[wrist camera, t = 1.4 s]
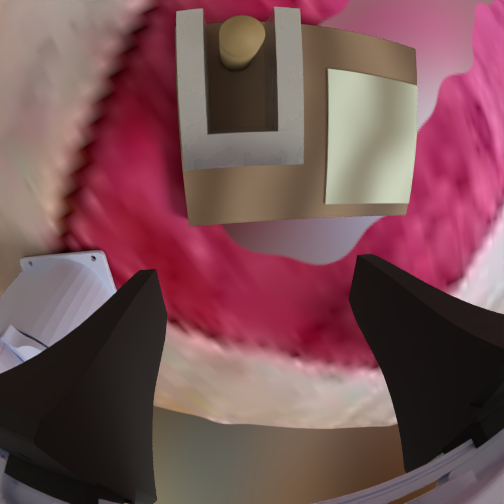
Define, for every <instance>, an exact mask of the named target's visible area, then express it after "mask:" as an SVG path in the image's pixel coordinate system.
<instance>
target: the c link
mask: <svg viewBox="0 0 504 504" xmlns="http://www.w3.org/2000/svg"><path fill="white" fill-rule="evenodd" d="M264 30H265V39H264V41H263V53H264V82H265V117H266V127H242V128H224V129H211V116H210V96H209V72H208V40H207V26H206V21H205V16H204V11H203V8H200V9H191V10H183V11H176V42H177V77H178V98H179V114H180V128H181V141H182V153H183V163H184V171H189V170H200V169H212V168H225V167H240V166H261V165H298V164H304V88H303V55H302V34H301V17H300V9H296V8H285V7H274V8H273V10H272V12H271V14H270V16H269V17H268V19H267V21H266V23H265V25H264Z"/></svg>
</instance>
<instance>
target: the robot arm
mask: <svg viewBox="0 0 504 504" xmlns="http://www.w3.org/2000/svg"><path fill="white" fill-rule="evenodd" d="M92 255H93V256H95V258H96V259H94V258H93V257H92ZM31 262H32V263H31ZM20 265H21V267H22V270H23V271H22V272H21V273H20V274H19V275H18V276H17V277H16V278H15V280H14V281H13V282H12V283H11V284H10V286H9V287H8V288H7V289H6V290H5V292H4V293H3V294H2V295H1V297H0V504H124V503H128V504H153V503H154V502H155V501H157V496H156V489H155V481H154V470H153V454H152V453H153V452H152V418H153V417H152V416H153V400H154V392H155V386H156V381H157V376H158V371H159V366H160V361H161V356H162V351H163V347H164V342H165V335H166V324H167V311H166V308H165V304H164V300H163V296H162V292H161V288H160V284H159V280H158V275H157V271H156V269H151V270H140V271H138V272H137V273H136V274H135V275H134V276H132V277H131V278H130V279H129V280H128V281H127V282H126V283H125V284H124V285H123V286H122V287H121V288H120V289H119V290H118V291H117V290H116V287H115V284H114V281H113V278H112V275H111V272H110V269H109V266H108V262H107V259H106V256H105V253H104V252H103V251H101V250H93V251H82V252H72V253H62V254H52V255H42V256H33V257H23V258H22V259H21V260H20ZM349 302H350V305H351V308H352V311H353V313H354V316H355V319H356V321H357V323H358V325H359V327H360V329H361V331H362V333H363V335H364V337H365V339H366V341H367V343H368V344H369V346H370V348H371V350H372V352H373V354H374V356H375V358H376V360H377V362H378V364H379V366H380V368H381V370H382V373H383V375H384V378H385V381H386V384H387V387H388V390H389V393H390V396H391V399H392V403H393V406H394V410H395V414H396V418H397V422H398V427H399V432H400V437H401V444H402V451H403V460H404V469H405V471H406V474H404V475H402V476H399V477H397V478H394V479H392V480H389V481H387V482H384V483H382V484H379V485H376V486H373V487H370V488H367V489H364V490H361V491H358V492H355V493H352V494H348V495H345V496H341V497H338V498H334V499H330V500H326V501H321V502H317V503H312V504H386V503H389V502H392V501H394V500H396V499H398V498H401V497H403V496H405V495H408V494H410V493H412V492H414V491H416V490H418V489H420V488H422V487H424V486H426V485H428V484H430V483H432V482H434V481H436V480H437V479H439V478H440V479H439V481H438V482H437V486H436V487H435V489H433V490H431V491H429V492H427V493H425V494H423V495H421V496H419V497H417V498H415V499H413V500H411V501H409V502H407V503H405V504H504V314H500V313H497V312H493V311H490V310H487V309H484V308H481V307H478V306H475V305H472V304H470V303H467V302H465V301H462V300H460V299H458V298H456V297H453V296H451V295H449V294H447V293H445V292H443V291H441V290H439V289H437V288H435V287H433V286H431V285H429V284H427V283H425V282H423V281H422V280H420V279H418V278H416V277H414V276H413V275H411V274H409V273H407V272H406V271H404V270H402V269H400V268H398V267H397V266H395V265H393V264H391V263H389V262H388V261H386V260H384V259H382V258H380V257H377V256H375V255H373V254H366V255H357V260H356V265H355V270H354V275H353V280H352V285H351V290H350V295H349Z"/></svg>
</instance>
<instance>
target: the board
mask: <svg viewBox="0 0 504 504" xmlns="http://www.w3.org/2000/svg"><path fill="white" fill-rule="evenodd" d="M265 23H266V22H259V21H258V20H256V19H255V18H253V17H250V16H245V15H239V16H234V17H231V18H229V19H228V20H226V21H225V22H222V23H207V24H206V26H207V40H208V72H209V96H210V116H211V129H224V128H242V127H266V117H265V82H264V53H263V41H264V39H265V30H264V25H265ZM301 34H302V55H303V88H304V164H298V165H261V166H240V167H225V168H212V169H200V170H189V171H184V163H183V153H182V141H181V128H180V114H179V98H178V77H177V42H176V27H175V65H176V89H177V107H178V122H179V135H180V147H181V158H182V168H183V178H184V187H185V196H186V205H187V213H188V220H189V226H200V225H213V224H226V223H240V222H254V221H270V220H286V219H287V220H288V219H306V218H325V217H326V218H327V217H352V216H383V215H406V211H407V206H408V203H409V199H410V192H411V185H412V178H413V169H414V160H415V150H416V137H417V118H418V116H417V115H418V86H417V71H416V70H417V69H416V51H415V49H414V48H411V47H408V46H405V45H402V44H399V43H395V42H392V41H388V40H385V39H381V38H377V37H373V36H369V35H365V34H360V33H356V32H351V31H345V30H340V29H334V28H328V27H321V26H313V25H305V24H301Z"/></svg>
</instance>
